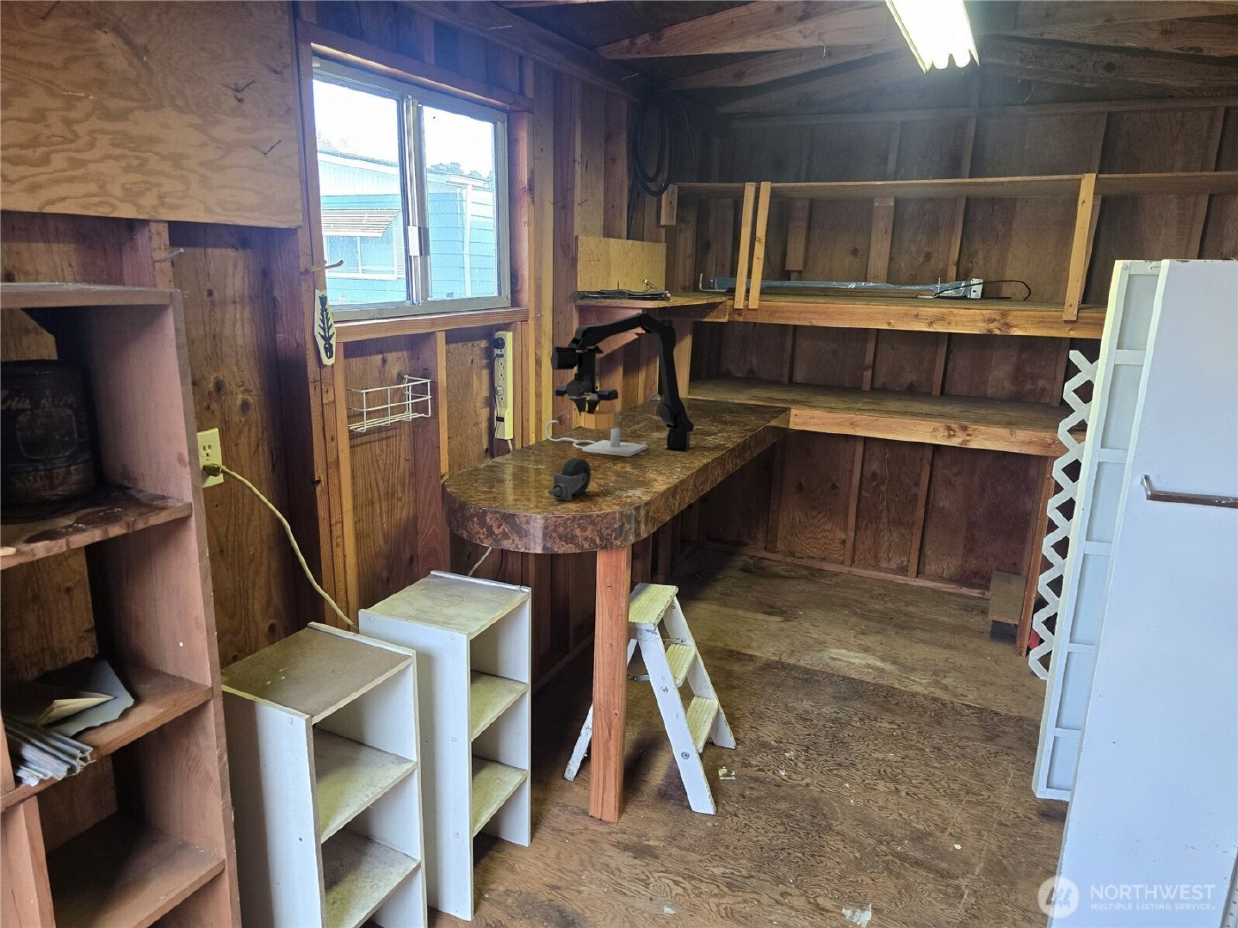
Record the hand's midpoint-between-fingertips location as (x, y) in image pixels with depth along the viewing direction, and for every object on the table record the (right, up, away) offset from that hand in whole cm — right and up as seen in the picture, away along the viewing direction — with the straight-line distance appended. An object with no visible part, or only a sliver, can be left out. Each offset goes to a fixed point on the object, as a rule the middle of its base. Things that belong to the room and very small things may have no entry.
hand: (586, 421), depth 230 cm
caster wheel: (-3, -21, -40) cm, 46 cm away
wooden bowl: (+3, -1, -1) cm, 4 cm away
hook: (-7, -6, +23) cm, 25 cm away
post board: (+9, -8, +14) cm, 18 cm away
